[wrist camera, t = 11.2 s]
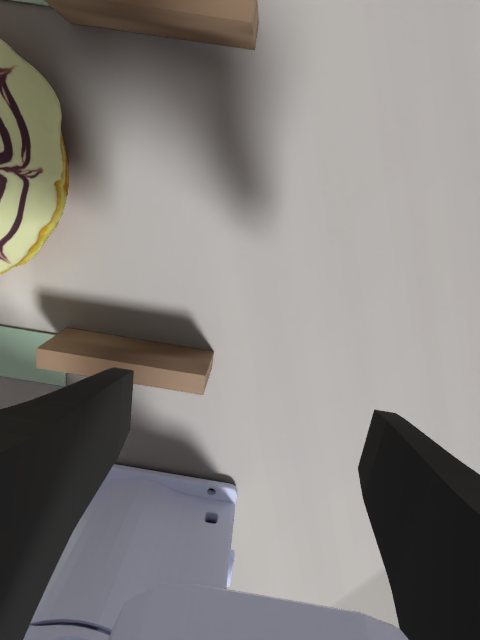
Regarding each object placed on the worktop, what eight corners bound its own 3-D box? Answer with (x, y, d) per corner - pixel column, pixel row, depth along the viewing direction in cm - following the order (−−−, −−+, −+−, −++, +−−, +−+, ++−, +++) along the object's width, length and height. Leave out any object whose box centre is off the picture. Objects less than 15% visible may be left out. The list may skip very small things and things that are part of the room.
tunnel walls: (258, 22, 17) (256, -12, 14) (211, 368, 22) (203, 395, 19) (71, -5, 17) (31, -44, 14) (66, 344, 22) (36, 367, 19)
